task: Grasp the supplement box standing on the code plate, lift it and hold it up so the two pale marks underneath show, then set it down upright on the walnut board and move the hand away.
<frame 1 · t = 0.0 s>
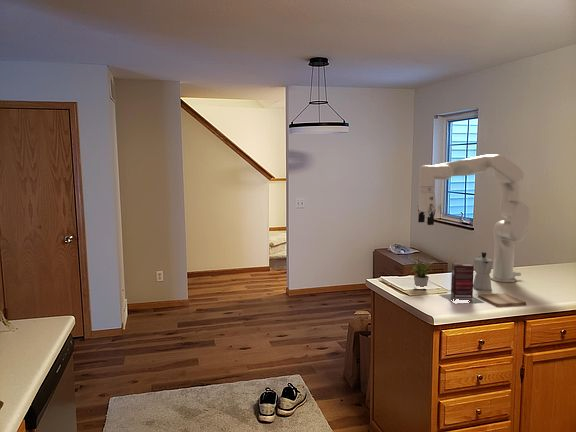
hand: (425, 223, 222), 31 cm above the counter, tool pointing down, fingers open, 9 cm apart
supplement box: (461, 298, 200), resting on code plate
coffee maker: (481, 287, 218), on the counter
house plant: (417, 288, 216), on the counter
walnut board: (501, 300, 196), on the counter
code plate: (461, 298, 200), on the counter
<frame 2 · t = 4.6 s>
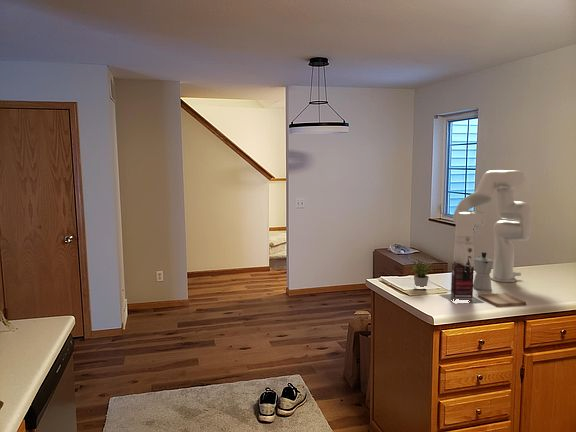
hand: (462, 278, 198), 10 cm above the counter, tool pointing down, fingers closed on supplement box, 5 cm apart
supplement box: (461, 298, 200), resting on code plate, touching gripper
everything else where it was.
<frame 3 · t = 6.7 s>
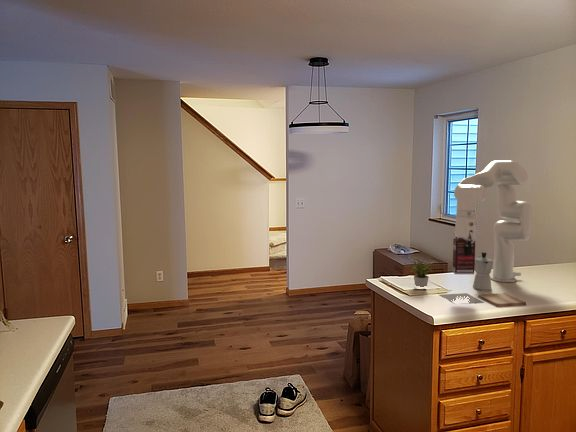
hand: (463, 253, 197), 21 cm above the counter, tool pointing down, fingers closed on supplement box, 5 cm apart
supplement box: (462, 273, 199), point 12 cm above the counter, touching gripper
everything else where it was.
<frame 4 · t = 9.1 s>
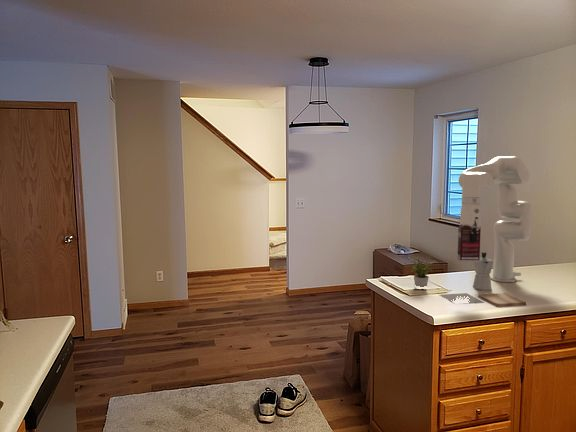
hand: (468, 240, 196), 27 cm above the counter, tool pointing down, fingers closed on supplement box, 5 cm apart
supplement box: (467, 261, 197), point 17 cm above the counter, touching gripper
everything else where it was.
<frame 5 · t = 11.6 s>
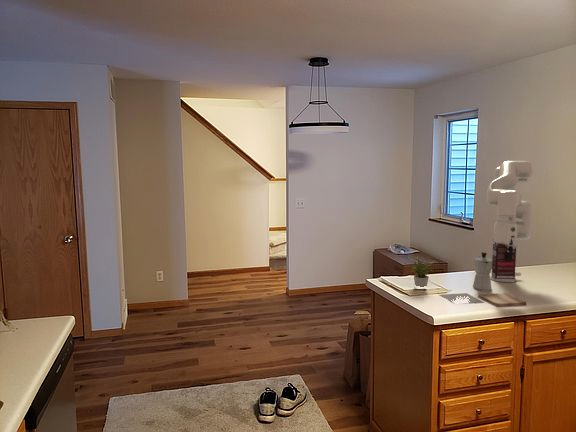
hand: (503, 259, 194), 19 cm above the counter, tool pointing down, fingers closed on supplement box, 5 cm apart
supplement box: (502, 279, 195), point 10 cm above the counter, touching gripper
everything else where it was.
when the fingers open (12 cm above the counter, at t = 13.8 s): supplement box drops 1 cm, resting on walnut board.
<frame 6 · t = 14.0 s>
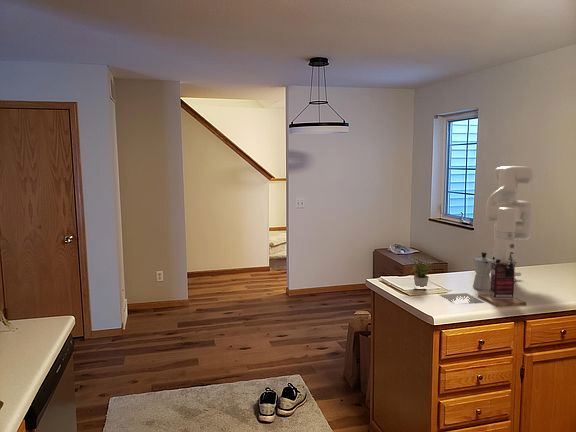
hand: (502, 274, 195), 12 cm above the counter, tool pointing down, fingers open, 7 cm apart
supplement box: (501, 298, 197), point 1 cm above the counter, touching walnut board
everything else where it was.
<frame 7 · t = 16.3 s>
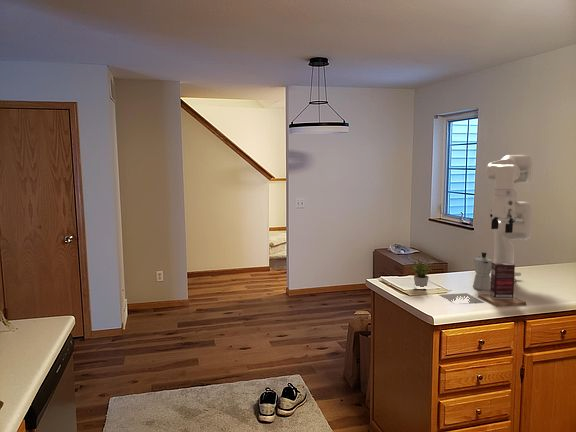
hand: (501, 230, 197), 31 cm above the counter, tool pointing down, fingers open, 9 cm apart
nothing on the counter moved.
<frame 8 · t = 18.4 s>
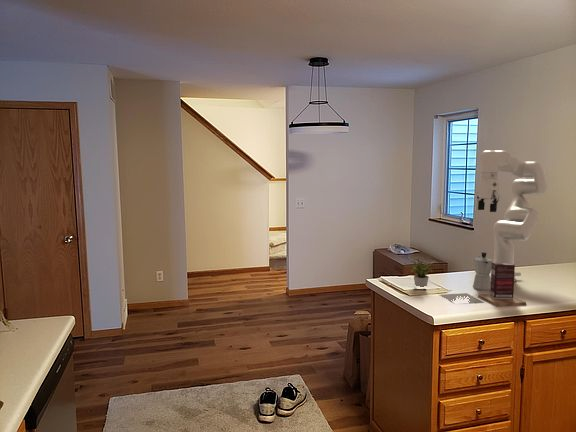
hand: (486, 210, 215), 38 cm above the counter, tool pointing down, fingers open, 9 cm apart
nothing on the counter moved.
at the end: supplement box inside the target area on the walnut board (0.3 cm from its centre), point 1.0 cm above the walnut board's base; supplement box tilted 0°; the gripper is holding nothing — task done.
